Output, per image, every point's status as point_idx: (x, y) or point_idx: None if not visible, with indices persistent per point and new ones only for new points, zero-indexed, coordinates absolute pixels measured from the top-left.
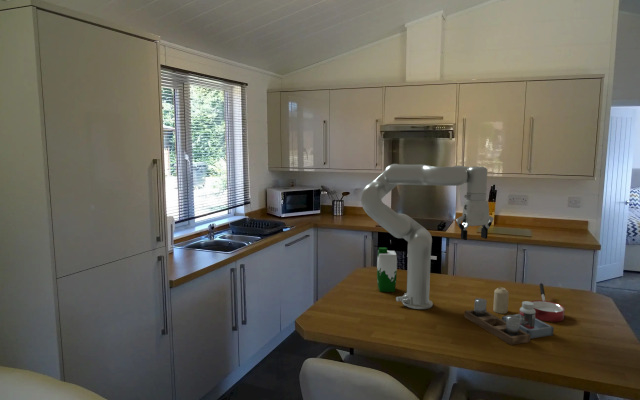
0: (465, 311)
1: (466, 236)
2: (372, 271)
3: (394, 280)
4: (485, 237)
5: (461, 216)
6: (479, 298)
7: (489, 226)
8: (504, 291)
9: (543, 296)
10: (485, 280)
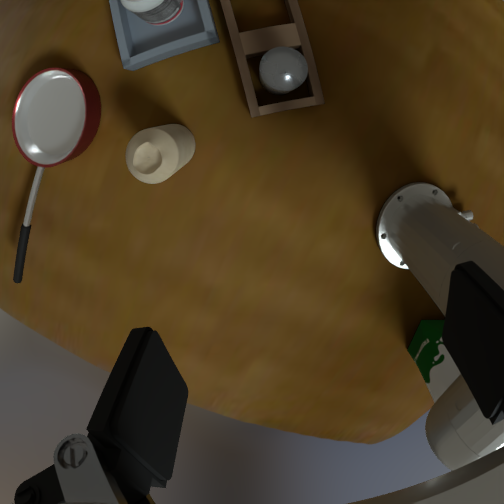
0: (323, 99)
1: (489, 283)
2: (387, 426)
3: (433, 341)
4: (151, 338)
5: None
6: (279, 88)
7: (53, 467)
8: (145, 135)
9: (27, 209)
10: None
